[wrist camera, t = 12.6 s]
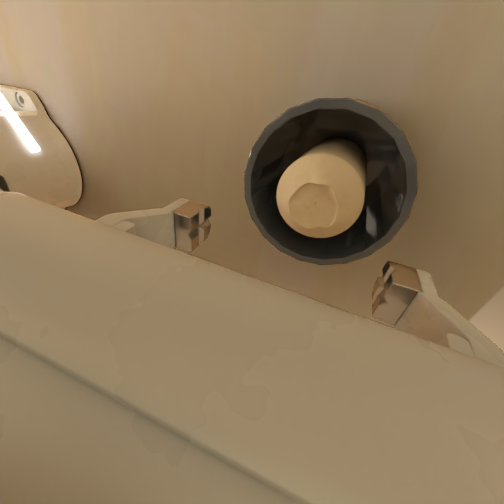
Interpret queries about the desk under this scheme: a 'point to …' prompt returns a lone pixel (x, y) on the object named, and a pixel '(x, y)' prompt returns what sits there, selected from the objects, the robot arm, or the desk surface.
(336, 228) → the candle
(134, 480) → the robot arm
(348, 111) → the pen holder
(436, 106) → the desk surface
